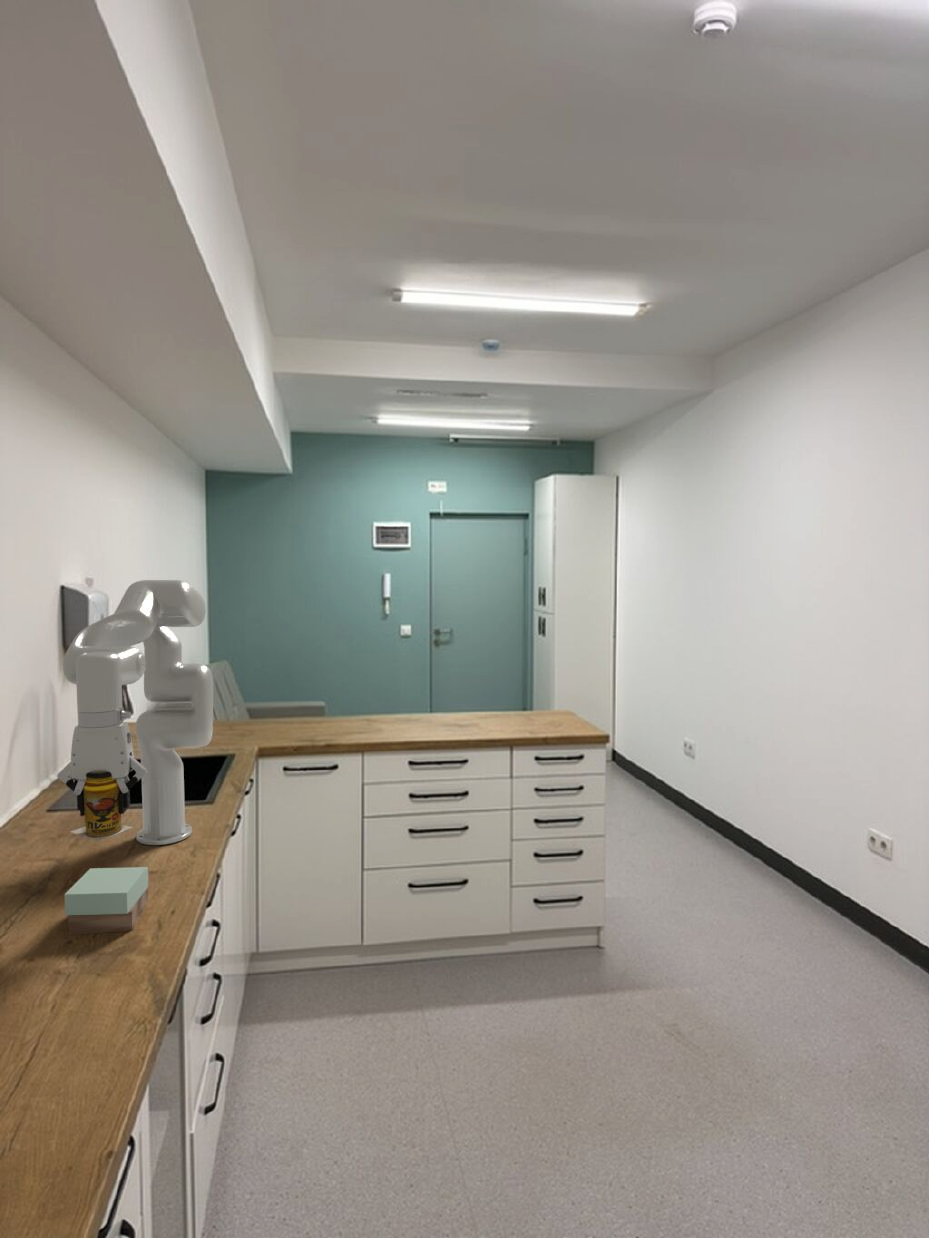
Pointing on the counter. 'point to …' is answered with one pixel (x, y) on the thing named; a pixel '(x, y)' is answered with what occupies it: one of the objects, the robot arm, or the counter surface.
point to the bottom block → (107, 920)
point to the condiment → (101, 807)
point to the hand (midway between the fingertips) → (104, 811)
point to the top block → (106, 891)
